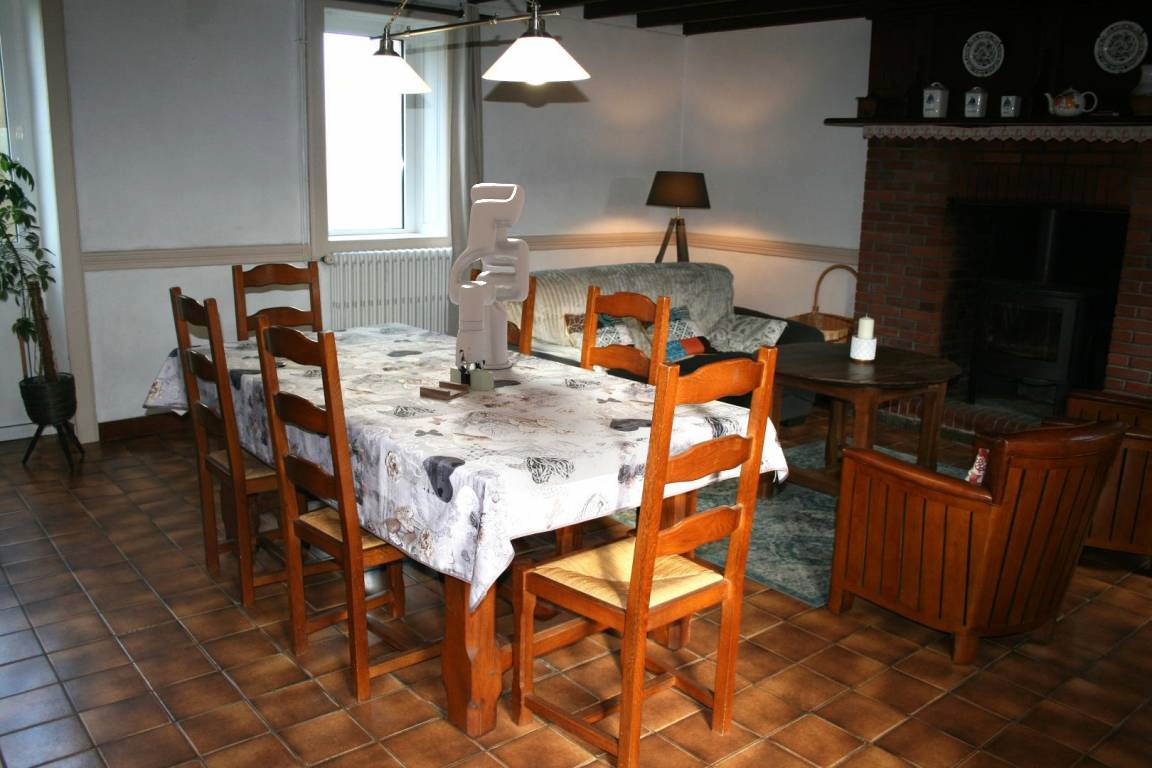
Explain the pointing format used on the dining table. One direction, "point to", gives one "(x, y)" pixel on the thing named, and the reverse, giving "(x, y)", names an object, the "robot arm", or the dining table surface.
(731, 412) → the dining table surface
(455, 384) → the cradle
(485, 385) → the peg
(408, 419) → the dining table surface
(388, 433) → the dining table surface
